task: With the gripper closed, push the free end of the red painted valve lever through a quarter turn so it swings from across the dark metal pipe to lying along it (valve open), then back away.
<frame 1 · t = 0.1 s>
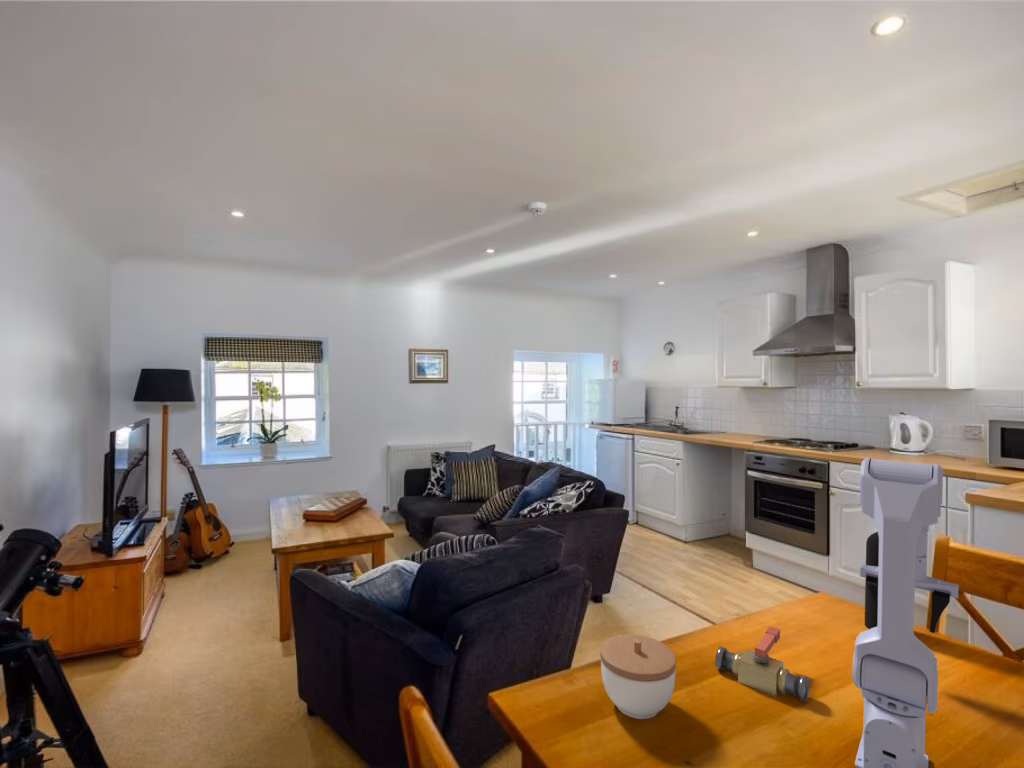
hand: (905, 623, 95), 10 cm above the table, tool pointing down, fingers open, 7 cm apart
pipe valve: (760, 683, 93), on the table
lidded bowl: (636, 706, 86), on the table
lever: (767, 644, 96), point 6 cm above the table, hinge at 0.0°
wine bottle: (884, 629, 114), on the table
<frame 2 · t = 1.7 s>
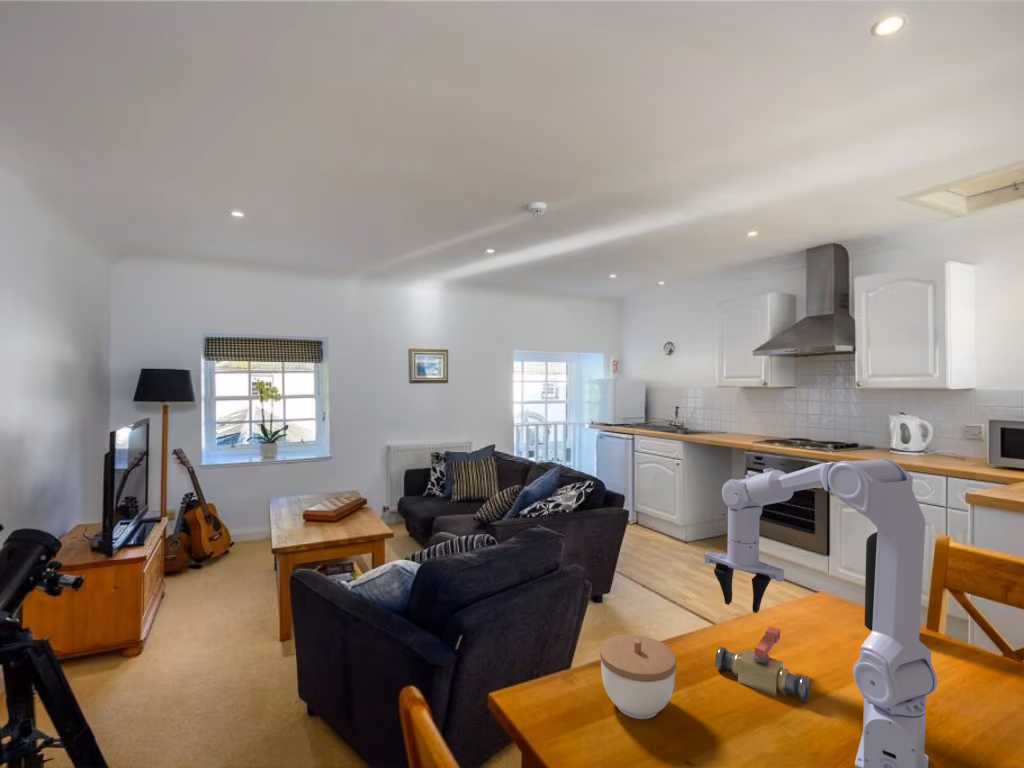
hand: (742, 606, 101), 10 cm above the table, tool pointing down, fingers open, 5 cm apart
nothing on the table moved.
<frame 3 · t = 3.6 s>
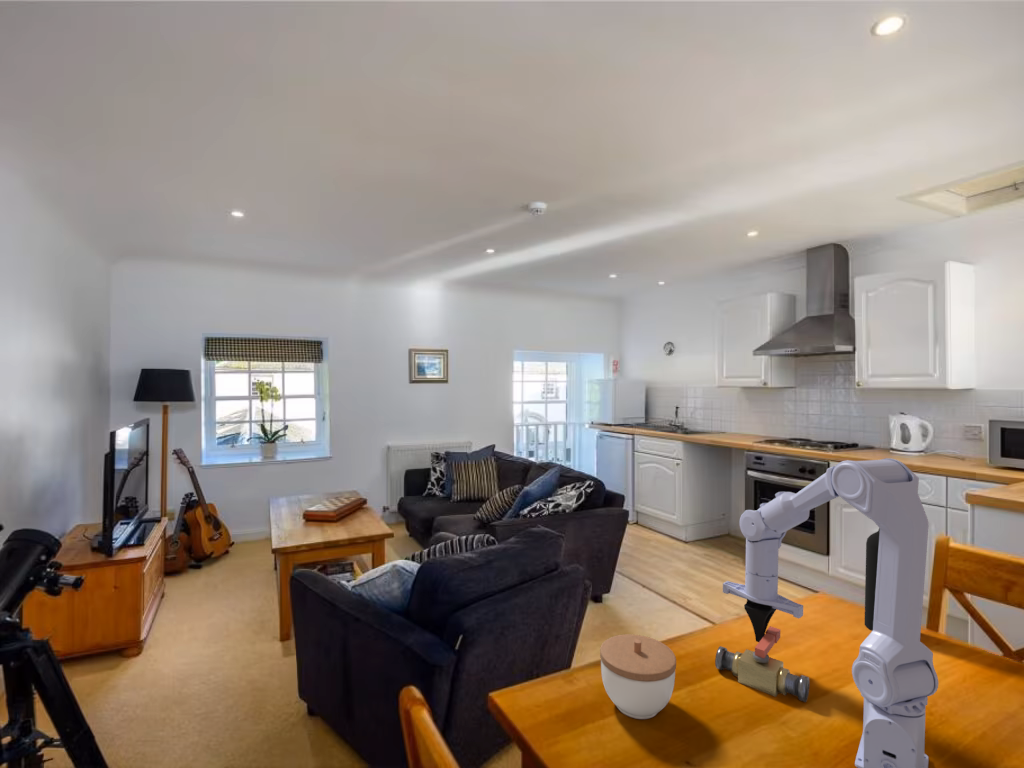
hand: (760, 640, 99), 5 cm above the table, tool pointing down, fingers closed, pressing on lever
lever: (767, 644, 96), point 6 cm above the table, hinge at 0.2°, touching gripper
everything else where it was.
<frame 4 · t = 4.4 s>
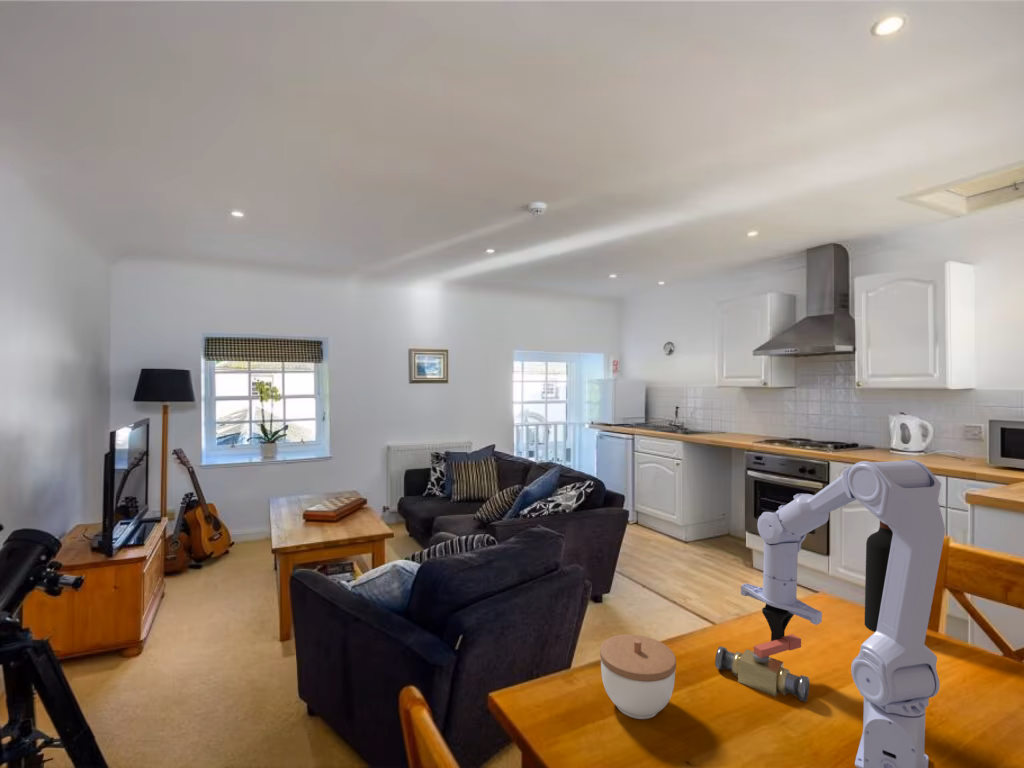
hand: (777, 645, 97), 5 cm above the table, tool pointing down, fingers closed, pressing on lever
lever: (776, 648, 94), point 6 cm above the table, hinge at 25.0°, touching gripper
everything else where it was.
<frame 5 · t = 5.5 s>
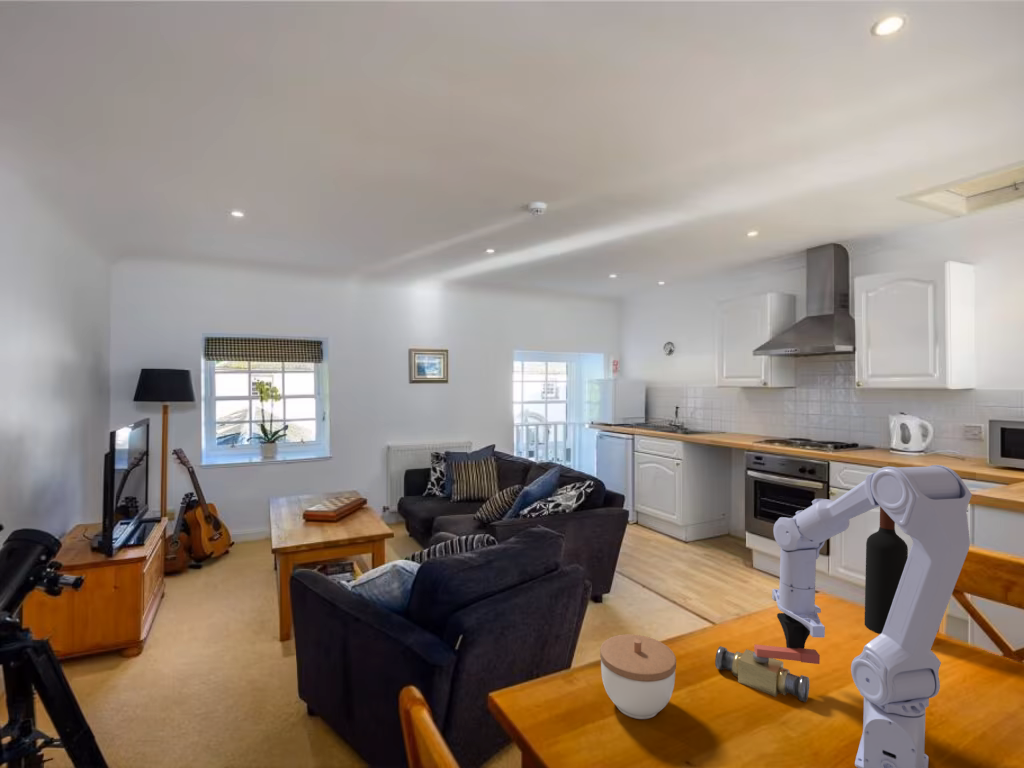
hand: (795, 655, 93), 5 cm above the table, tool pointing down, fingers closed, pressing on lever
lever: (785, 655, 92), point 6 cm above the table, hinge at 59.1°, touching gripper
everything else where it was.
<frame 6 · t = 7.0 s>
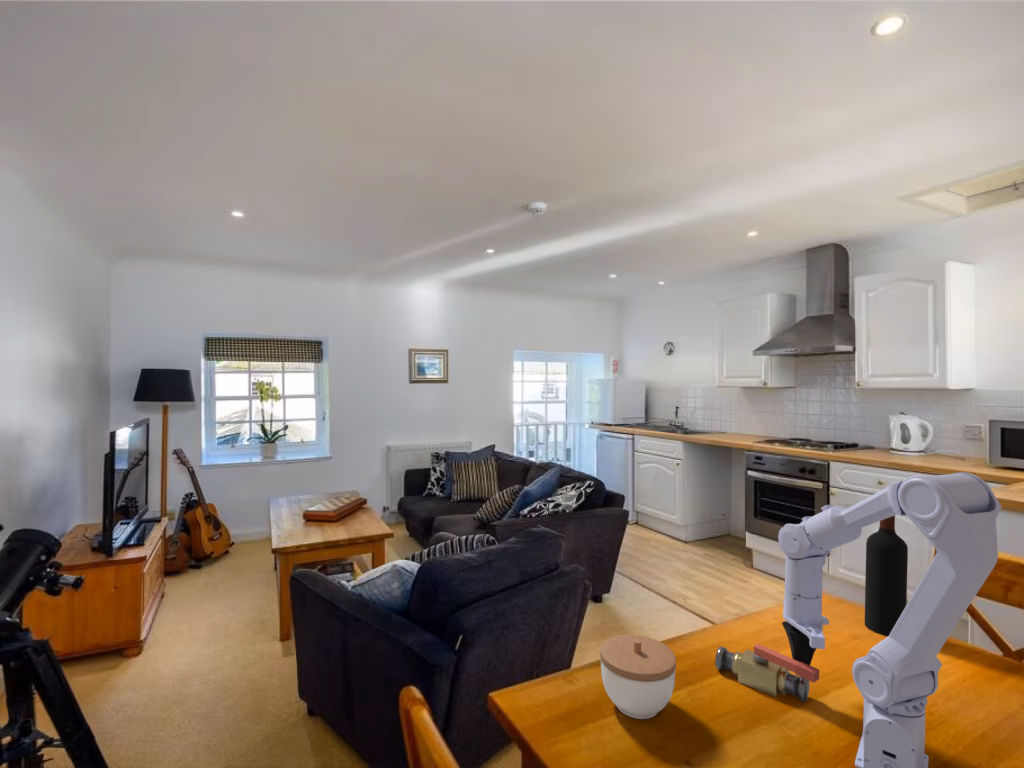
hand: (801, 667, 89), 5 cm above the table, tool pointing down, fingers closed, pressing on lever
lever: (783, 663, 89), point 6 cm above the table, hinge at 102.3°, touching gripper
everything else where it was.
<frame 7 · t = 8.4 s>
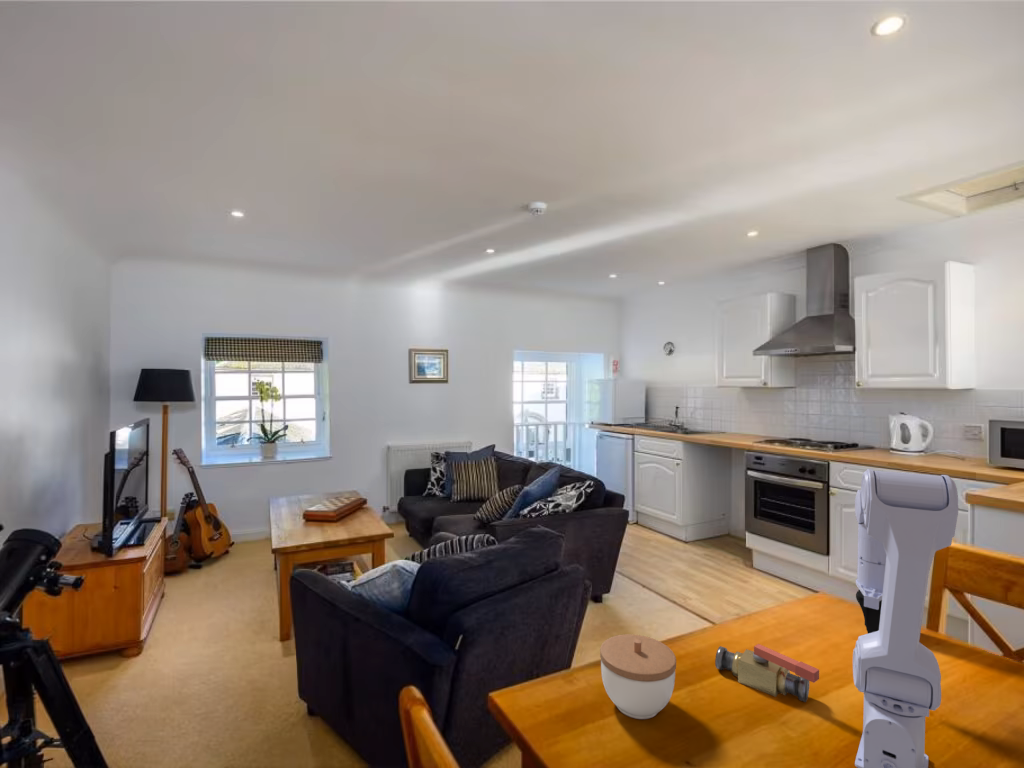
hand: (875, 634, 90), 10 cm above the table, tool pointing down, fingers closed
lever: (783, 663, 89), point 6 cm above the table, hinge at 102.4°
everything else where it was.
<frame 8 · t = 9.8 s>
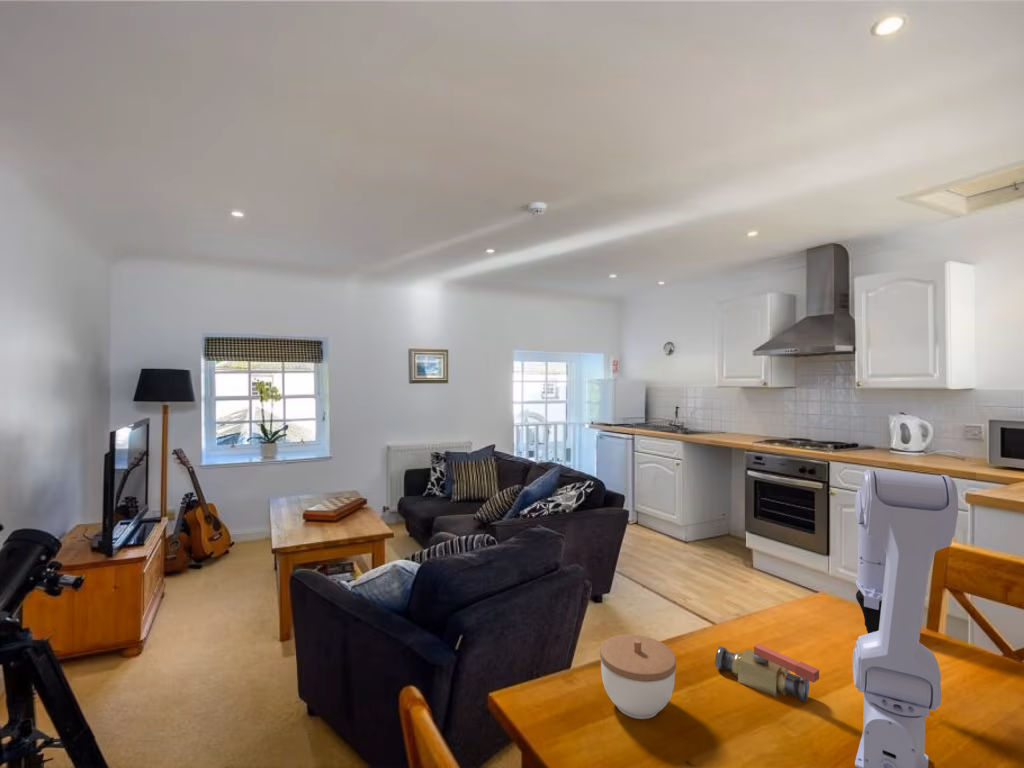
hand: (875, 634, 90), 10 cm above the table, tool pointing down, fingers closed
nothing on the table moved.
at the end: lever at +102° (first picture: +0°); the gripper is holding nothing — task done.
